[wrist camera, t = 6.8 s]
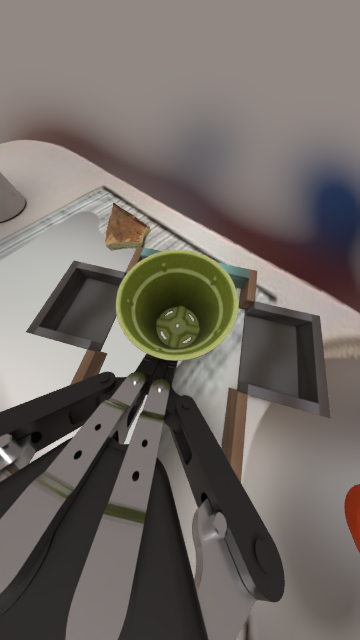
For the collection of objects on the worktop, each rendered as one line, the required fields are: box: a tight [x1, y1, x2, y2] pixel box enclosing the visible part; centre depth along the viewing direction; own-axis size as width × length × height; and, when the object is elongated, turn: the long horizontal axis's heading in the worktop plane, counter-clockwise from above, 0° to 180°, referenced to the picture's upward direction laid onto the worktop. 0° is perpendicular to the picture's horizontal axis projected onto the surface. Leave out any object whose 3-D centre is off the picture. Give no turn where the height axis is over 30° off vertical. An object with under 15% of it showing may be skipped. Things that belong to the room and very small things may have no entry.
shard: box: [105, 203, 150, 251], centre depth 24 cm, size 11×8×2 cm
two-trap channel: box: [26, 246, 330, 483], centre depth 16 cm, size 34×24×2 cm
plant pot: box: [116, 250, 238, 361], centre depth 14 cm, size 9×9×9 cm
